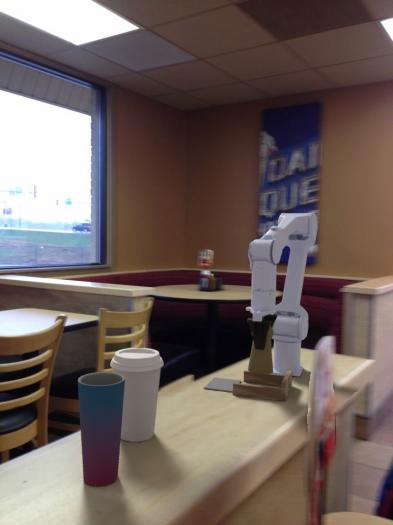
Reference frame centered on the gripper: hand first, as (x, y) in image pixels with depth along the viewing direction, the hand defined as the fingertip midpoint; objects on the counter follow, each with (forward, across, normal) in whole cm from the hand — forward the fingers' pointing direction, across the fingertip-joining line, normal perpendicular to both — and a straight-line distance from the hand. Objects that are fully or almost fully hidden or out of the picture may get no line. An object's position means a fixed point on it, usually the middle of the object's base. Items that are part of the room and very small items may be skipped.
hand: (262, 346), depth 112 cm
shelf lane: (+10, 0, 0) cm, 10 cm away
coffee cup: (+11, +34, -16) cm, 39 cm away
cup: (+11, +50, -14) cm, 53 cm away
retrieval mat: (+10, 0, -9) cm, 14 cm away
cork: (+6, 0, 0) cm, 6 cm away
